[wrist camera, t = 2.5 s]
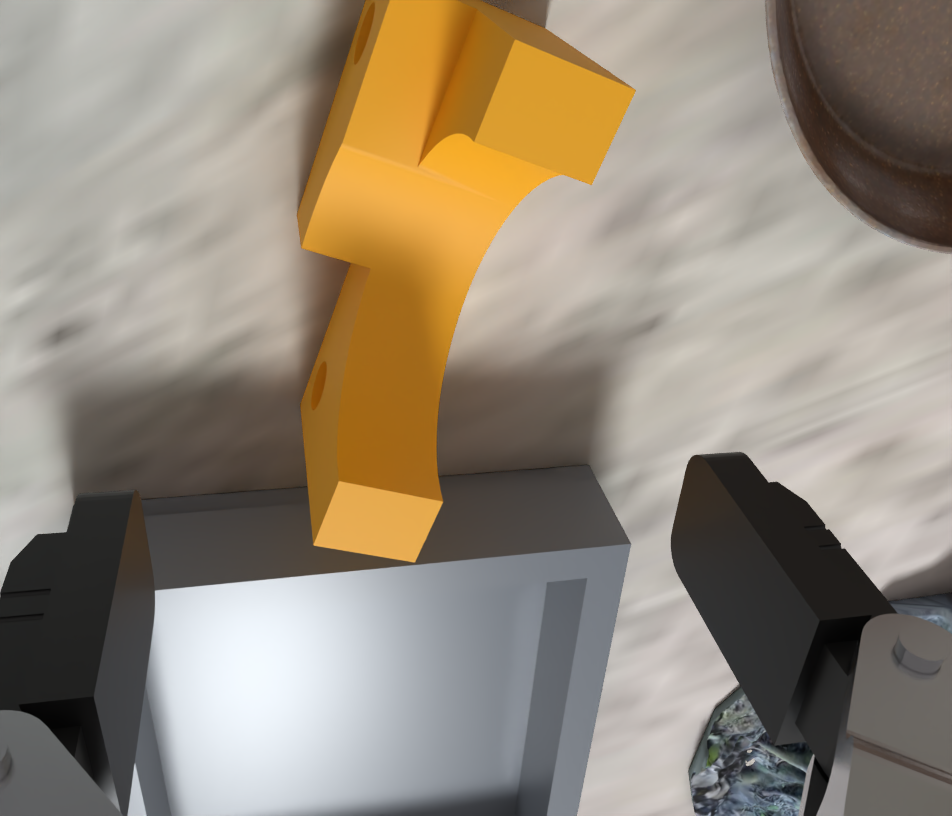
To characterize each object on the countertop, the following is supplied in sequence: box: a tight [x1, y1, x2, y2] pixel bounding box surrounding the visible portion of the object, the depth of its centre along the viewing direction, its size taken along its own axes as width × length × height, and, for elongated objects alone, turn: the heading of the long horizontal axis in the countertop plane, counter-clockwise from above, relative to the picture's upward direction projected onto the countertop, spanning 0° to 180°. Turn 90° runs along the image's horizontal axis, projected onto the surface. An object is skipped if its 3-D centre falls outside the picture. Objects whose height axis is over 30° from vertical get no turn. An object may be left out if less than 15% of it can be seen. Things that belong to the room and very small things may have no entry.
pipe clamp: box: [297, 0, 636, 562], centre depth 22 cm, size 12×4×6 cm, turn 157°
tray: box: [67, 465, 631, 816], centre depth 32 cm, size 16×20×4 cm
